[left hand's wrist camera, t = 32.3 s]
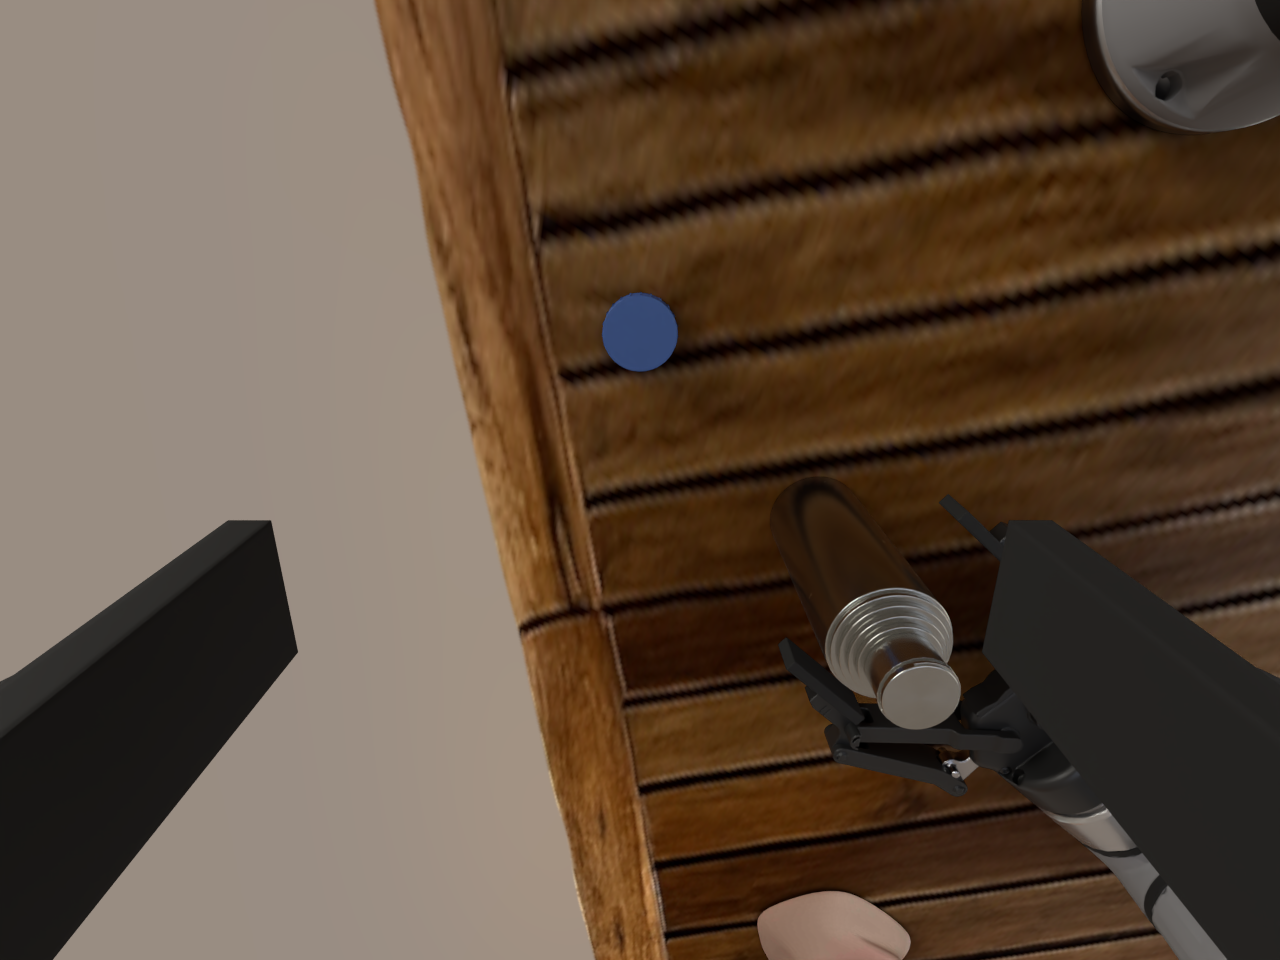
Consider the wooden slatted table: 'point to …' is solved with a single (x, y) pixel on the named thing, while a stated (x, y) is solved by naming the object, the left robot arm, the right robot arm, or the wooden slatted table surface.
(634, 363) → the cap
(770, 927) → the anatomical model
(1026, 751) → the right robot arm
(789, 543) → the bottle
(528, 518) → the wooden slatted table surface
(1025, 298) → the wooden slatted table surface
